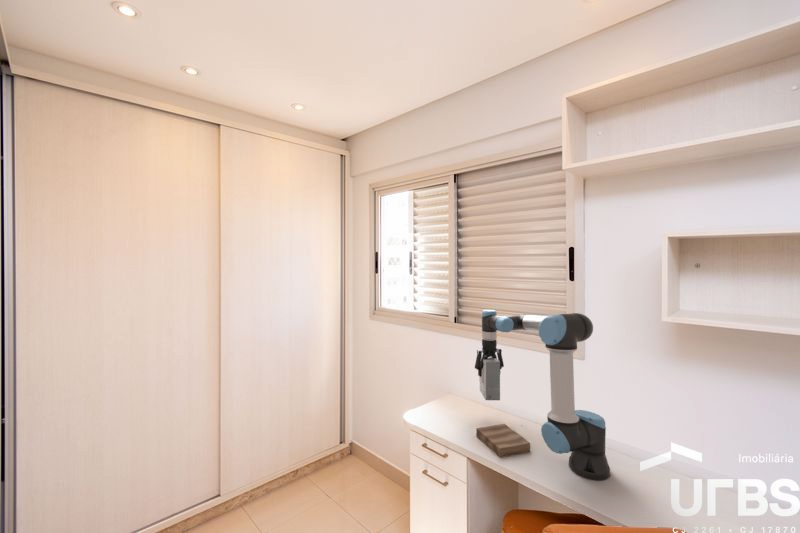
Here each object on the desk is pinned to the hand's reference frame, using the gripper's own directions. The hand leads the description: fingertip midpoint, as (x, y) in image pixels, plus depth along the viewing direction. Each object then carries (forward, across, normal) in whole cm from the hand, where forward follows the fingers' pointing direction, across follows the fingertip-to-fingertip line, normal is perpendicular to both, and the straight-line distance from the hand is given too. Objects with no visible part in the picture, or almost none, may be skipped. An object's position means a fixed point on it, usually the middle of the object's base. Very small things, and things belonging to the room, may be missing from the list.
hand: (489, 381), depth 188 cm
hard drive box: (+8, 0, 0) cm, 8 cm away
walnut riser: (+23, +6, +20) cm, 31 cm away
